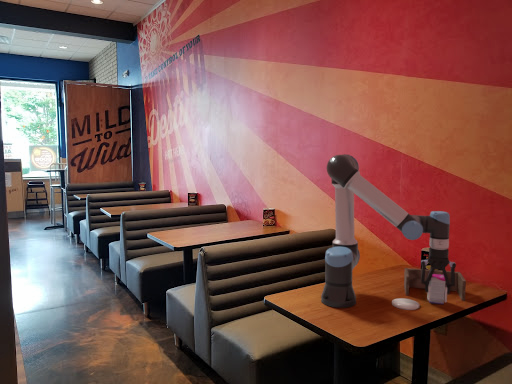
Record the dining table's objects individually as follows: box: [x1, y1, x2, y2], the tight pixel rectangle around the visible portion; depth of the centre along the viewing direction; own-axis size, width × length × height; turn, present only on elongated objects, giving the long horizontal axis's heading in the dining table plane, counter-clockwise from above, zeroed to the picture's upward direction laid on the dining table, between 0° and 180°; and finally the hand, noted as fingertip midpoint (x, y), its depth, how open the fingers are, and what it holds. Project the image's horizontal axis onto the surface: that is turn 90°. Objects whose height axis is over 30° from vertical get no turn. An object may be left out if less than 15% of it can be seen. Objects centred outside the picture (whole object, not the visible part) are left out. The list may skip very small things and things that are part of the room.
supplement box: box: [428, 274, 445, 305], centre depth 169 cm, size 6×6×12 cm
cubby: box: [403, 267, 467, 302], centre depth 181 cm, size 24×13×9 cm, turn 72°
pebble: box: [391, 298, 420, 311], centre depth 168 cm, size 11×11×1 cm
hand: (436, 300), depth 168 cm, fingers closed on supplement box, 6 cm apart
